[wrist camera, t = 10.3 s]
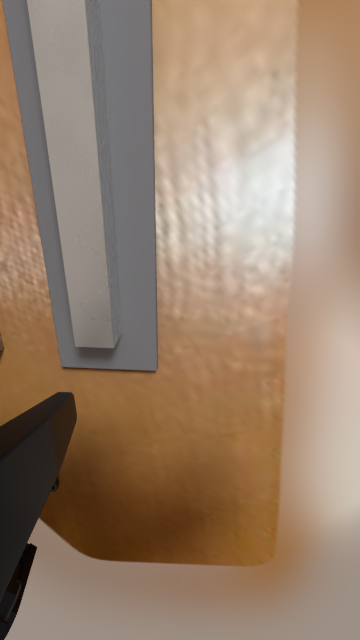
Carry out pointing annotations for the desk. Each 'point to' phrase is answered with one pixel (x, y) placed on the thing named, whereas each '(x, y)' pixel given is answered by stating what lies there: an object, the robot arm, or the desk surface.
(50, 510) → the desk surface
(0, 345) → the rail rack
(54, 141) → the steel rail
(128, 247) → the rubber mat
